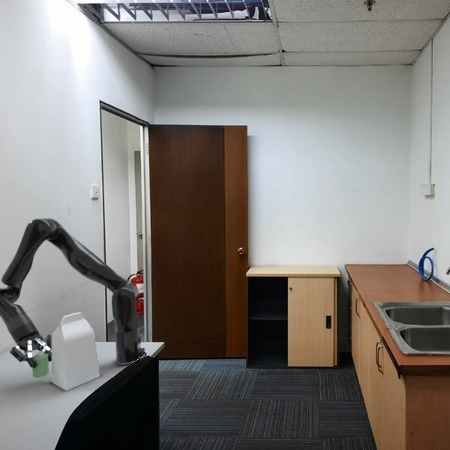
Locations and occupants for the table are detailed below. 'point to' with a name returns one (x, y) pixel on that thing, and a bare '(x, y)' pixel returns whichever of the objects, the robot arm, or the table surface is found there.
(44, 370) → the soap bottle
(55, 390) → the table surface
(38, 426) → the table surface
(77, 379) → the milk
